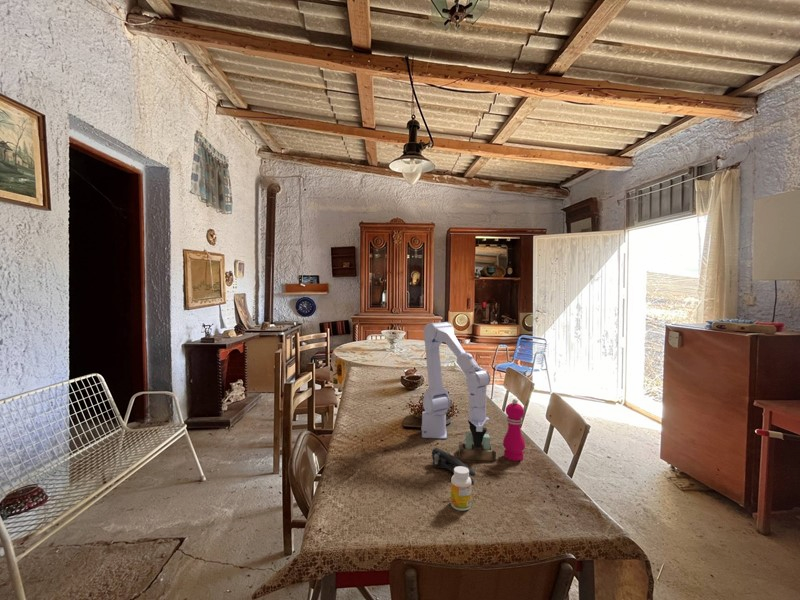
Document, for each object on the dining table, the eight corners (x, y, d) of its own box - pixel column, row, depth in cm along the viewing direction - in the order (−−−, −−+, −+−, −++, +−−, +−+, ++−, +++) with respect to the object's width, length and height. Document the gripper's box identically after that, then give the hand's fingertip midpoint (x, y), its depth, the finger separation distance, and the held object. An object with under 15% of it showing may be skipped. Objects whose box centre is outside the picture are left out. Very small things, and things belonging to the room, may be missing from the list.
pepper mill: (524, 453, 131) (526, 397, 130) (524, 463, 124) (526, 403, 123) (503, 450, 133) (504, 395, 132) (502, 459, 126) (503, 401, 125)
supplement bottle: (448, 499, 103) (449, 465, 102) (468, 499, 103) (468, 464, 103) (453, 511, 97) (453, 475, 97) (473, 510, 98) (474, 474, 97)
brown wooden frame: (459, 458, 127) (459, 449, 126) (458, 450, 133) (458, 441, 133) (495, 460, 125) (495, 451, 125) (493, 452, 132) (493, 443, 132)
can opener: (426, 464, 123) (426, 447, 123) (442, 458, 127) (442, 442, 127) (465, 489, 108) (465, 470, 108) (481, 481, 112) (482, 463, 112)
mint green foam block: (465, 456, 128) (466, 436, 128) (465, 452, 131) (465, 432, 131) (489, 457, 127) (489, 437, 127) (488, 453, 130) (488, 434, 130)
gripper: (492, 413, 121) (491, 454, 121) (486, 399, 135) (486, 436, 136) (470, 412, 121) (469, 453, 122) (467, 398, 136) (466, 435, 136)
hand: (476, 444), depth 129 cm, fingers open, 4 cm apart
